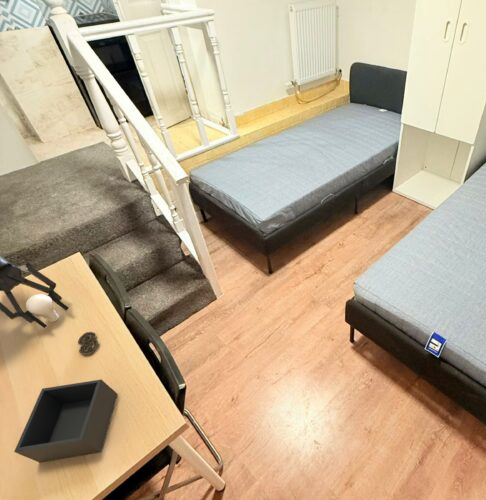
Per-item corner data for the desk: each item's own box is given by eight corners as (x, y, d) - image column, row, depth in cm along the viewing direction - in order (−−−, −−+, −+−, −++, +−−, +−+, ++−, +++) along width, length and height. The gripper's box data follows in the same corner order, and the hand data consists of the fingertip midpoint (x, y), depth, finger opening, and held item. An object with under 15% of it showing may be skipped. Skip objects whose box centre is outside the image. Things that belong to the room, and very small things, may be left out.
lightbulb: (64, 308, 106) (43, 286, 98) (68, 320, 103) (47, 298, 95) (42, 319, 103) (19, 297, 96) (46, 332, 100) (22, 310, 92)
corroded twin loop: (96, 330, 100) (94, 328, 99) (101, 349, 95) (99, 348, 94) (77, 339, 98) (75, 337, 97) (82, 359, 93) (80, 357, 92)
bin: (39, 462, 75) (13, 451, 69) (62, 402, 85) (42, 388, 79) (101, 452, 76) (81, 440, 70) (117, 393, 86) (101, 379, 80)
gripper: (-57, 284, 85) (24, 342, 91) (19, 238, 97) (86, 292, 103) (-51, 291, 90) (25, 345, 96) (20, 246, 102) (84, 296, 108)
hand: (56, 317), depth 99 cm, fingers closed on lightbulb, 6 cm apart
